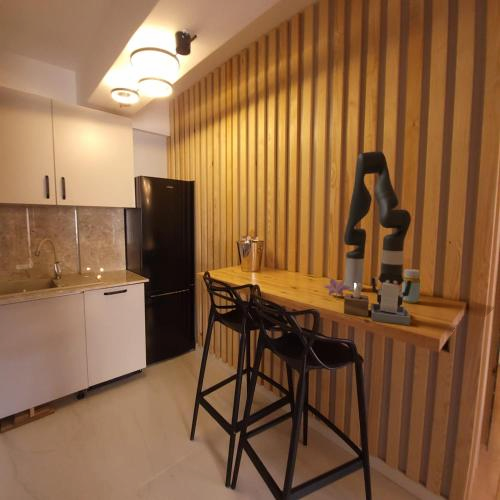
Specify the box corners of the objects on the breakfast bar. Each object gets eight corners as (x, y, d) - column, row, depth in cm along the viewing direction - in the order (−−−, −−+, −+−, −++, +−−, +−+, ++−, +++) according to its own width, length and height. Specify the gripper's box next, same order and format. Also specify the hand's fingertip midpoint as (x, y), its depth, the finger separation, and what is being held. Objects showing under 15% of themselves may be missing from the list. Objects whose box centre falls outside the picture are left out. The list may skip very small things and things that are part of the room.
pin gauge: (352, 310, 115) (354, 282, 114) (359, 311, 114) (361, 282, 113) (352, 311, 113) (353, 283, 111) (359, 313, 112) (361, 284, 110)
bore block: (345, 307, 119) (345, 293, 119) (367, 309, 116) (368, 295, 115) (343, 313, 111) (344, 298, 110) (367, 316, 108) (368, 301, 107)
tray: (370, 309, 116) (370, 302, 115) (404, 313, 111) (404, 306, 111) (371, 320, 103) (372, 312, 103) (409, 325, 99) (410, 317, 98)
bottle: (397, 300, 130) (399, 269, 128) (408, 299, 132) (410, 268, 131) (411, 304, 123) (413, 271, 122) (422, 303, 126) (424, 270, 124)
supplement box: (397, 314, 103) (399, 285, 102) (379, 312, 106) (381, 283, 105) (397, 310, 108) (399, 281, 107) (380, 308, 111) (382, 280, 110)
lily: (354, 301, 132) (352, 282, 136) (343, 295, 124) (342, 275, 128) (331, 303, 140) (330, 285, 144) (320, 299, 132) (319, 280, 136)
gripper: (371, 262, 104) (369, 305, 106) (415, 264, 99) (412, 310, 101) (371, 259, 111) (368, 300, 113) (411, 262, 106) (408, 304, 108)
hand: (389, 304), depth 107 cm, fingers closed on supplement box, 6 cm apart
